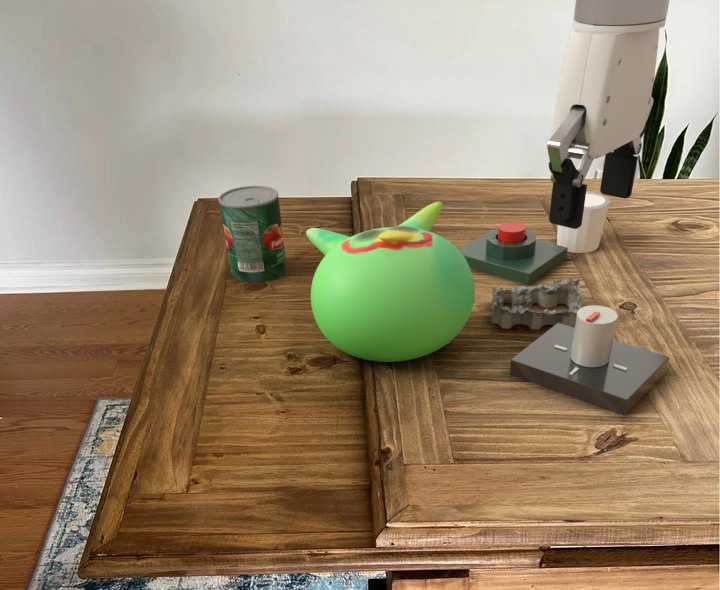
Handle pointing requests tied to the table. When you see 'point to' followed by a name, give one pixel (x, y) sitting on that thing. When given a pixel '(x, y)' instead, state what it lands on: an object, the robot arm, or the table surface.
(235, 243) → the canned tomato
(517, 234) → the button
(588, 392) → the dial base plate
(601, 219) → the white cup
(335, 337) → the toy bird
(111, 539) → the table surface
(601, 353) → the knob
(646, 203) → the table surface
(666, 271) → the table surface
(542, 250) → the button housing
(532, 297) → the egg carton
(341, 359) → the table surface
